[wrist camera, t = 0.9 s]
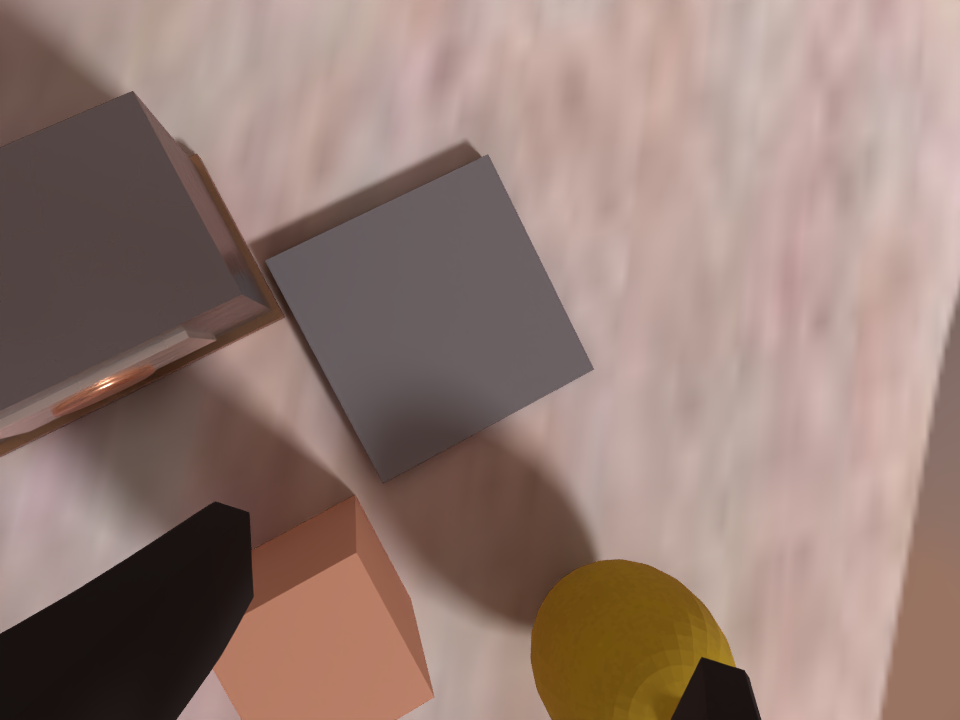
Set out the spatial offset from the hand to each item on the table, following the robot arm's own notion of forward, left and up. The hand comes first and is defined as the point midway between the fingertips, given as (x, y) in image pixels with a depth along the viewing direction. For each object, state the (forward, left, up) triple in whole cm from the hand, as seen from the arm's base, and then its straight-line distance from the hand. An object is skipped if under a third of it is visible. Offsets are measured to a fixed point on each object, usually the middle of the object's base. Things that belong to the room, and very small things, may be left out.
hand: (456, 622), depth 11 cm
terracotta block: (-4, -2, -13) cm, 14 cm away
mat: (+3, +4, -13) cm, 14 cm away
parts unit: (-6, +9, -13) cm, 17 cm away
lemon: (+3, -7, -13) cm, 15 cm away
